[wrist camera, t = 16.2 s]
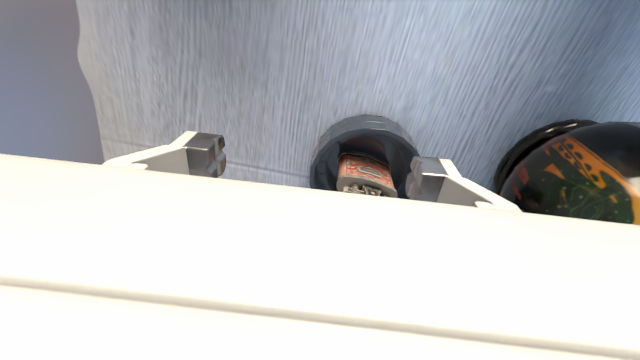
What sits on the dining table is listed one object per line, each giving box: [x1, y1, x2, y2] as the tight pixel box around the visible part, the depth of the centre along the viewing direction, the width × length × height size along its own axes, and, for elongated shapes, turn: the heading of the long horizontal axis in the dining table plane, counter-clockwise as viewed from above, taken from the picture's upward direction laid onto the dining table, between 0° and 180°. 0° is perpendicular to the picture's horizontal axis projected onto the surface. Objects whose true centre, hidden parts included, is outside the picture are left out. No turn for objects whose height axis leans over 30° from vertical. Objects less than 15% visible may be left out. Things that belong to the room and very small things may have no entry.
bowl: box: [310, 115, 420, 199], centre depth 43 cm, size 15×15×6 cm
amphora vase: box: [494, 119, 640, 225], centre depth 32 cm, size 22×22×28 cm
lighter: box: [336, 150, 397, 198], centre depth 41 cm, size 8×3×10 cm, turn 74°
